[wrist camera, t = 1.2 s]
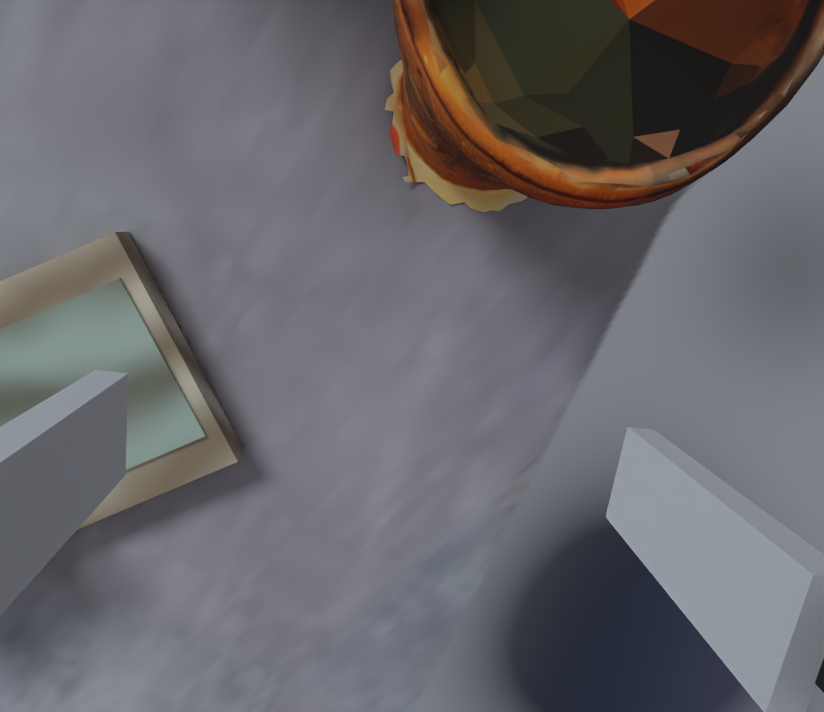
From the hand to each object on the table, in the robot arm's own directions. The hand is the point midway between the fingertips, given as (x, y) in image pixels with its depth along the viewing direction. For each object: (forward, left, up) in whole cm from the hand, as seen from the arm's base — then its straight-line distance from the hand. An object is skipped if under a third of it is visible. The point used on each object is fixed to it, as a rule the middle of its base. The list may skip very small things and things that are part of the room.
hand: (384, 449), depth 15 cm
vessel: (-9, +12, -24) cm, 29 cm away
